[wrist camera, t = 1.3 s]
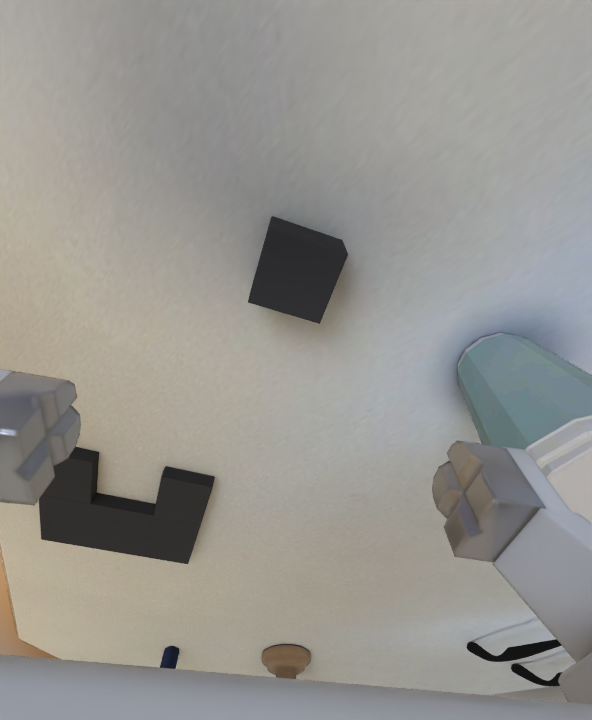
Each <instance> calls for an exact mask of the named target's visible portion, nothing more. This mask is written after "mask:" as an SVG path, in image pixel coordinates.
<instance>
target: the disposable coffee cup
mask: <svg viewBox="0 0 592 720" xmlns="http://www.w3.org/2000/svg"><path fill="white" fill-rule="evenodd" d="M457 367H458V369H457V373H458V385H459V387H460V390H461V392H462V395H463V397H464V400H465V402H466V405H467V407H468V410H469V412H470V414H471V417H472V419H473V422H474V424H475V427H476V429H477V432H478V434H479V437H480V439H481V442H482V444H484V445H491V446H497V447H509V448H516V449H523V450H524V451H526V452H527V453H529V454H530V455H531V456H532V458H533V459H534V461H535V462H536V463H537V465H538V466H539V467H540V469H541V470H542V472H543V473H544V474H545V476H546V477H547V479H548V480H549V481H550V483H551V484H552V485H553V487H554V488H555V490H556V491H557V492H558V494H559V495H560V497H561V498H562V499H563V501H564V502H565V503H566V505H567V506H568V508H569V509H570V510H571V512H572V513H579V514H580V515H582V516H583V517H584V518H586V519H587V520H588V521H590V522H591V523H592V375H590V374H589V373H587V372H585V371H583V370H582V369H580V368H578V367H576V366H574V365H573V364H571V363H569V362H567V361H566V360H564V359H562V358H560V357H559V356H557V355H555V354H553V353H551V352H550V351H548V350H546V349H544V348H543V347H541V346H539V345H537V344H535V343H534V342H532V341H530V340H528V339H527V338H525V337H520V336H515V335H511V334H505V333H497V334H493V335H489V336H485V337H482V338H480V339H479V340H477V341H476V342H475V343H473V344H472V345H471V346H469V347H468V348H467V349H466V350H465V351H464V353H463V355H462V357H461V359H460V360H459V362H458V364H457Z"/></svg>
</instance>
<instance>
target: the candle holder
mask: <svg viewBox="0 0 592 720" xmlns="http://www.w3.org/2000/svg"><path fill="white" fill-rule="evenodd" d="M310 661H311V657H310V653H309V651H308V650H306V649H304V648H302V647H299V646H294V645H278V646H274V647H270V648H268V649H266V650H265V651H264V652H263V654H262V663H263V664H264V665H265V666H266V667H267V669H268V671H269V672H270V673H272V674H275V675H276V678H288V679H296V675H297V674H300V673H302V672H303V671H304V670H305V667H306V666H308V665H309V663H310Z"/></svg>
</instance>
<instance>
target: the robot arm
mask: <svg viewBox="0 0 592 720" xmlns="http://www.w3.org/2000/svg"><path fill="white" fill-rule="evenodd" d="M76 398H77V394H76V389H75V384H73V383H72V382H70V381H68V380H63V379H57V378H51V377H46V376H40V375H34V374H29V373H23V372H14V371H9V370H4V369H0V502H5V503H15V504H26V505H35V504H36V503H37V501H38V500H39V498H40V497H41V495H42V494H43V493H44V491H45V490H46V488H47V487H48V486H49V484H50V483H51V481H52V480H53V479H54V477H55V475H54V470H53V466H55V465H57V464H59V463H61V462H63V461H64V460H66V459H68V457H69V456H70V454H71V453H72V451H73V450H74V448H75V446H76V443H77V440H78V438H79V435H80V427H81V420H80V414H79V413H78V412H77V411H76V410H75V409H74V408H73V407H72V406H71V404H72V403H73V402H74V401H75V400H76ZM447 455H448V458H449V461H448V462H446V463H445V464H443V465H441V466H439V468H438V470H437V472H436V474H435V476H434V479H433V487H432V491H433V499H434V501H435V504H436V507H437V509H438V510H439V511H440V512H441V513H442V514H443V515H444V516H445V517H446V518H447V520H446V523H445V525H444V529H445V532H446V534H447V537H448V540H449V542H450V545H451V548H452V551H453V553H454V556H455V557H461V558H468V559H474V560H481V561H487V562H494V563H493V565H494V567H495V568H496V569H497V570H498V571H499V572H500V574H501V575H502V576H503V577H504V578H505V579H506V581H507V582H508V583H509V584H510V585H511V586H512V588H513V589H514V590H515V591H516V592H517V593H518V595H519V596H520V597H521V598H522V599H523V600H524V602H525V603H526V604H527V605H528V606H529V607H530V609H531V610H532V611H533V612H534V613H535V614H536V616H537V617H538V618H539V619H540V620H541V621H542V623H543V624H544V625H545V626H546V627H547V629H548V630H549V631H550V632H551V633H552V634H553V636H554V637H555V638H556V639H557V640H558V641H559V643H560V644H561V645H562V646H563V647H564V648H565V650H566V651H567V652H568V653H569V654H570V655H571V657H572V658H573V659H574V660H575V661H576V662H577V663H575V664H574V665H572V666H571V667H570V668H568V669H567V670H565V671H564V672H563V673H561V675H560V677H559V680H558V682H559V684H560V686H561V689H562V691H563V693H564V695H565V697H566V699H567V702H559V701H548V700H536V699H524V698H512V697H501V696H489V695H477V694H465V693H453V692H441V691H430V690H418V689H406V688H394V687H382V686H370V685H359V684H347V683H335V682H323V681H311V680H299V679H288V678H276V677H264V676H252V675H240V674H228V673H217V672H205V671H193V670H181V669H169V668H157V667H146V666H134V665H122V664H110V663H98V662H86V661H74V660H62V659H50V658H38V657H25V656H14V655H2V654H0V720H592V523H591V522H590V521H588V520H587V519H586V518H584V517H583V516H582V515H580V514H579V513H572V512H571V510H570V509H569V508H568V506H567V505H566V503H565V502H564V501H563V499H562V498H561V497H560V495H559V494H558V492H557V491H556V490H555V488H554V487H553V485H552V484H551V483H550V481H549V480H548V479H547V477H546V476H545V474H544V473H543V472H542V470H541V469H540V467H539V466H538V465H537V463H536V462H535V461H534V459H533V458H532V456H531V455H530V454H529V453H527V452H526V451H524V450H523V449H516V448H509V447H497V446H491V445H484V444H477V443H470V442H464V441H456V442H455V443H454V444H452V445H451V447H450V449H449V450H448V452H447Z"/></svg>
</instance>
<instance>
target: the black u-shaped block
mask: <svg viewBox="0 0 592 720" xmlns="http://www.w3.org/2000/svg"><path fill="white" fill-rule="evenodd" d="M98 458H99V452H95V451H90V450H86V449H81V448H76V447H75V448H74V450H73V451H72V453H71V454H70V456H69V457H68V459H66V460H64V461H63V462H61V463H59V464H57V465H55V466H53V470H54V475H55V477H54V479H53V480H52V481H51V483H50V484H49V486H48V487H47V488H46V490H45V491H44V493H43V494H42V495H41V497H40V498H39V508H40V524H41V539H42V540H48V541H54V542H60V543H66V544H72V545H78V546H84V547H90V548H96V549H102V550H107V551H113V552H119V553H125V554H131V555H137V556H143V557H149V558H155V559H161V560H167V561H173V562H178V563H184V564H188V562H189V559H190V556H191V553H192V550H193V547H194V544H195V540H196V537H197V534H198V531H199V528H200V525H201V522H202V518H203V515H204V512H205V509H206V506H207V503H208V500H209V496H210V493H211V490H212V487H213V482H214V478H215V477H213V476H208V475H203V474H199V473H194V472H189V471H184V470H180V469H175V468H170V467H165V469H164V471H163V474H162V477H161V482H160V486H159V491H158V496H157V501H156V505H155V504H150V503H145V502H140V501H135V500H129V499H124V498H119V497H114V496H109V495H104V494H98V493H96V489H97V474H98Z"/></svg>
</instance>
